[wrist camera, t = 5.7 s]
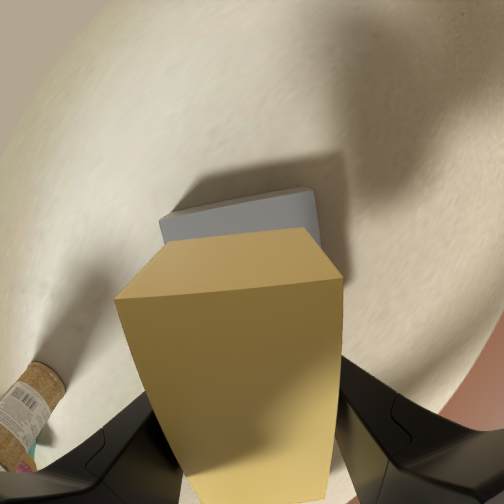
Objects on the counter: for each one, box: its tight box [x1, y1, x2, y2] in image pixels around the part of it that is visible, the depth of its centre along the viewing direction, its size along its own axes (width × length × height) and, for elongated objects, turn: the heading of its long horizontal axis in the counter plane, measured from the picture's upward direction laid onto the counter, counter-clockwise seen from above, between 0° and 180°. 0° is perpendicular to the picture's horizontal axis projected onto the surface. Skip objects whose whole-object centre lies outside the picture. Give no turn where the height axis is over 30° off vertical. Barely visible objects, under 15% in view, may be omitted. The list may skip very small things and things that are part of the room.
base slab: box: [159, 186, 322, 249], centre depth 18 cm, size 8×8×3 cm
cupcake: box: [16, 440, 37, 473], centre depth 20 cm, size 9×8×12 cm
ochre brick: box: [114, 227, 343, 504], centre depth 8 cm, size 8×4×4 cm, turn 6°
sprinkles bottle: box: [0, 362, 65, 472], centre depth 16 cm, size 5×5×13 cm
